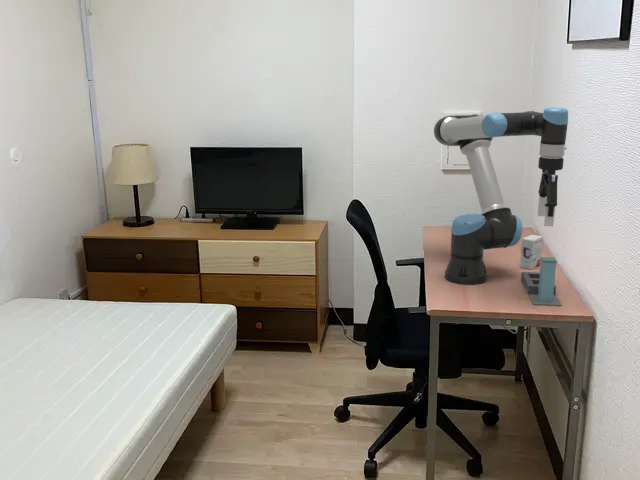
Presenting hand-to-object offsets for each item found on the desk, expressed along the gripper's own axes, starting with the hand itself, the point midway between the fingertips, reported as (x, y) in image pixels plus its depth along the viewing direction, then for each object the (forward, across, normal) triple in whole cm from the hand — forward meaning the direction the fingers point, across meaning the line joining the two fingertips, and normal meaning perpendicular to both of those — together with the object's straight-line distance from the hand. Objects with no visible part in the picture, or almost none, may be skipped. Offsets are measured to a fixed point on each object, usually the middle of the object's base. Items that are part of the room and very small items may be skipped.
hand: (545, 220), depth 210 cm
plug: (+26, -6, -2) cm, 26 cm away
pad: (+26, -6, -1) cm, 27 cm away
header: (+26, +8, -1) cm, 27 cm away
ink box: (+27, +34, -2) cm, 43 cm away
